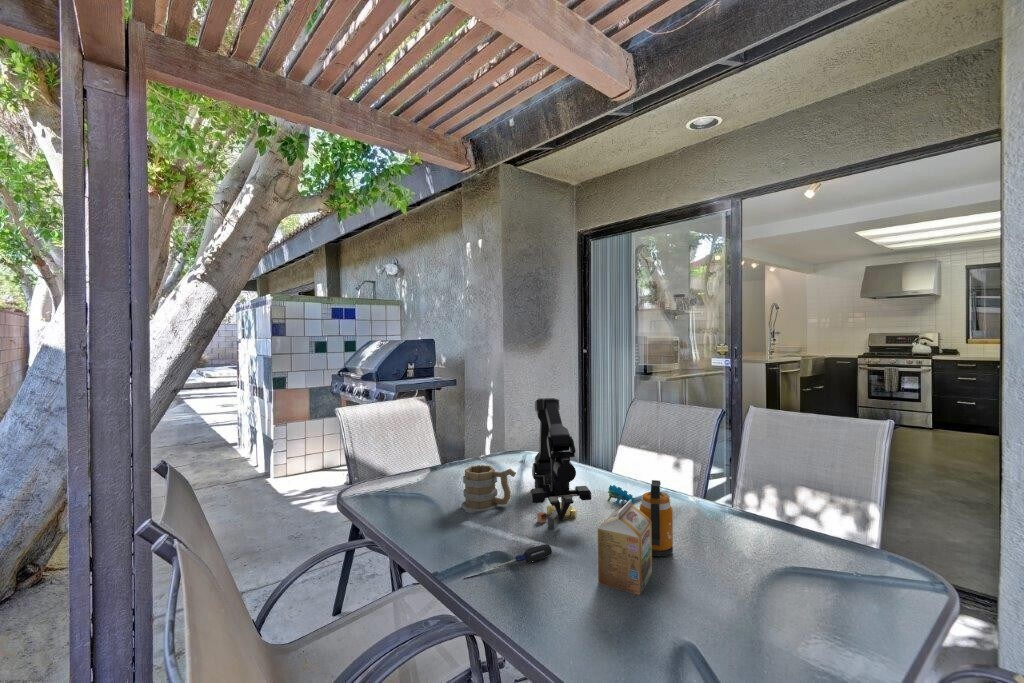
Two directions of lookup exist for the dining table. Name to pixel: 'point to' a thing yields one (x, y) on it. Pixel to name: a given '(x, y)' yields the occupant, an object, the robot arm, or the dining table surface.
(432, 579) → the dining table surface
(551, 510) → the gold lugged knob
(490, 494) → the tankard
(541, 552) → the screwdriver
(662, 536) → the canister
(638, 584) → the milk carton
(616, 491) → the blue branched piece
